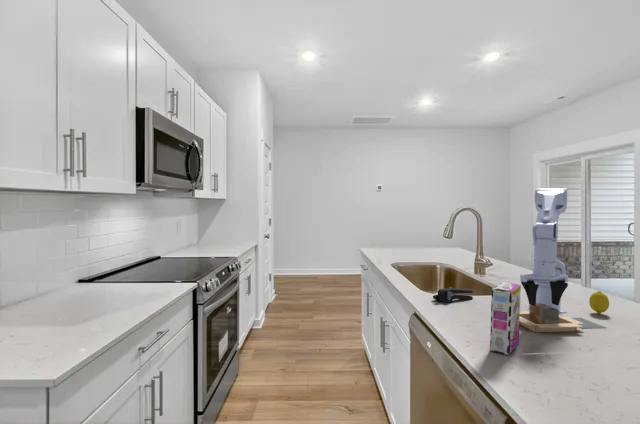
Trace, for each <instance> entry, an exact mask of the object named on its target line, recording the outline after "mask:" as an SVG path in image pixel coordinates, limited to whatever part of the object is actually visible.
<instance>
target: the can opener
mask: <svg viewBox="0 0 640 424" xmlns="http://www.w3.org/2000/svg"><path fill="white" fill-rule="evenodd" d="M472 293H474V291H473V290H472V289H467V288H453V287H451V286H450V287H448V288H440V289H439V290H438V291H437V294H434V295H433V296H432V299H433V300H436V301H439V302H442V303H452V301H453V300H462V301H470V300H472V299H474V297H473V296H471V295H465V294H472Z"/></svg>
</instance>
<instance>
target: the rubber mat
mask: <svg viewBox="0 0 640 424" xmlns="http://www.w3.org/2000/svg"><path fill="white" fill-rule="evenodd" d="M571 318H572V319H574V320H577V321H579V322H582V323H584V324H579V325H581V326H583V327H578V328H579V329H607V327H606V326H604V325H600V324H598V323H595V322H593V321H591V320H588V319H586V318H583V317H571Z"/></svg>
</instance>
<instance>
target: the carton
mask: <svg viewBox="0 0 640 424" xmlns="http://www.w3.org/2000/svg"><path fill="white" fill-rule="evenodd" d="M572 318H573V317H569V316H567V315H564V314H563V313H559V324H535V323H533V322H531V321H529V310H520V318H519V325H521V326H523V327H525V328H526V329H528V330H530V331H533V332H534V333H558V332H561V333H562V332H577V331H578V330H577V329H578V328H579V327H583V326H581V325H579V324H584V323H582V322H579V321H577V320H574V319H572Z"/></svg>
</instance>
